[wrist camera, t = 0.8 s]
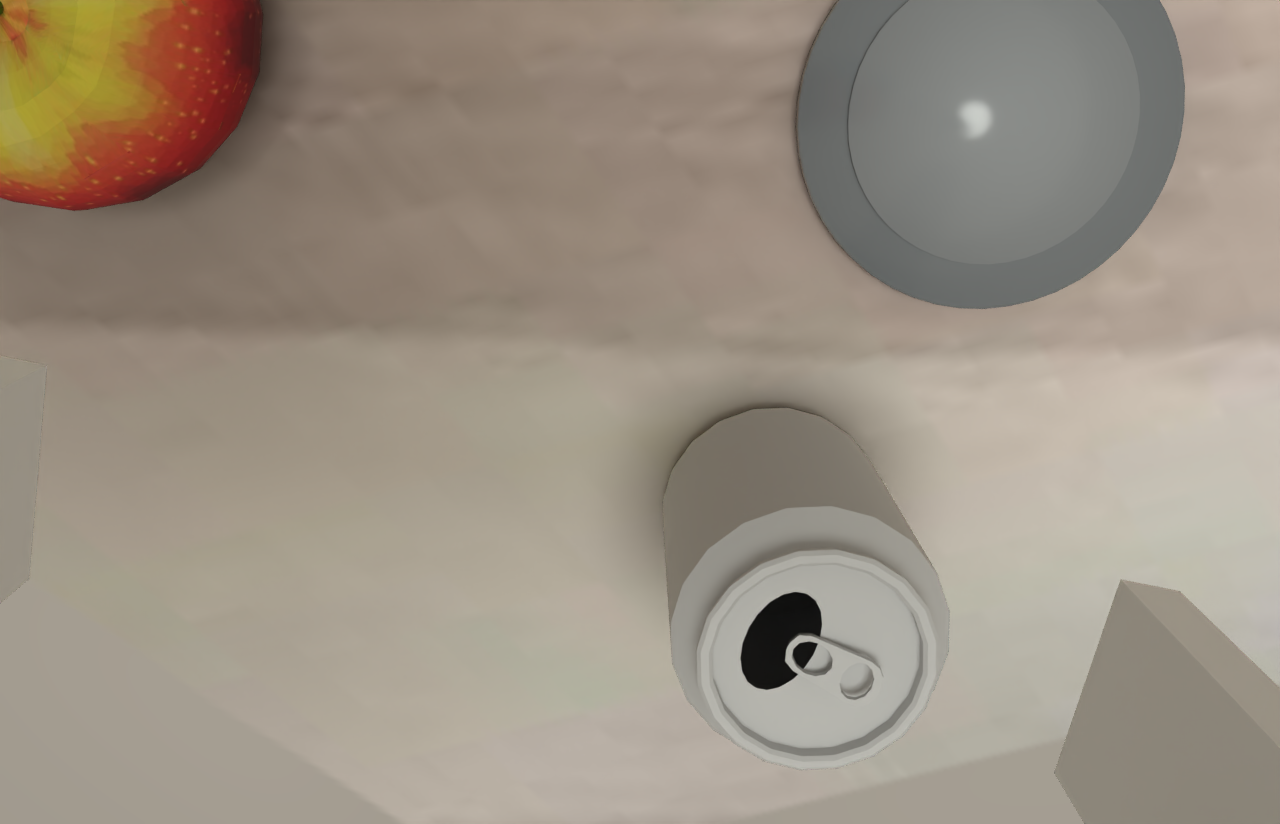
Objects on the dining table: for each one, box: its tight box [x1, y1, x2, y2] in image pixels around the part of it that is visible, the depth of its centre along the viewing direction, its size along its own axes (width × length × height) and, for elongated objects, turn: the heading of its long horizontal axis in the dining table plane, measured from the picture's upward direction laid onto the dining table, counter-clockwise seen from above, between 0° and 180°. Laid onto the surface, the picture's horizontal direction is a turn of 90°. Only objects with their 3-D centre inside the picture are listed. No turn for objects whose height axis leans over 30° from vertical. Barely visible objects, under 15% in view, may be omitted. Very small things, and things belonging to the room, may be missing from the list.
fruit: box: [0, 0, 263, 211], centre depth 33 cm, size 11×11×10 cm
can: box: [662, 408, 950, 770], centre depth 37 cm, size 8×8×12 cm
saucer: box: [796, 0, 1185, 309], centre depth 39 cm, size 12×12×1 cm
